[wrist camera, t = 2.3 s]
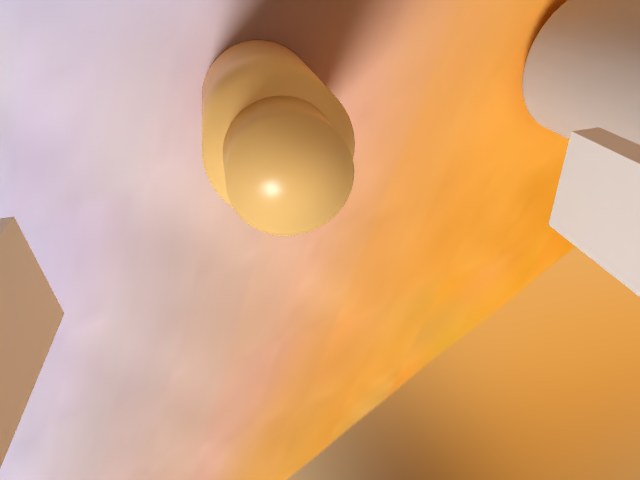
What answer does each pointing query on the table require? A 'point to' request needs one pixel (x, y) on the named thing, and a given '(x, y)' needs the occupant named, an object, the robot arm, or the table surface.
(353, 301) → the table surface
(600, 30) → the beverage can
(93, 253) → the table surface
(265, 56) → the nesting doll
